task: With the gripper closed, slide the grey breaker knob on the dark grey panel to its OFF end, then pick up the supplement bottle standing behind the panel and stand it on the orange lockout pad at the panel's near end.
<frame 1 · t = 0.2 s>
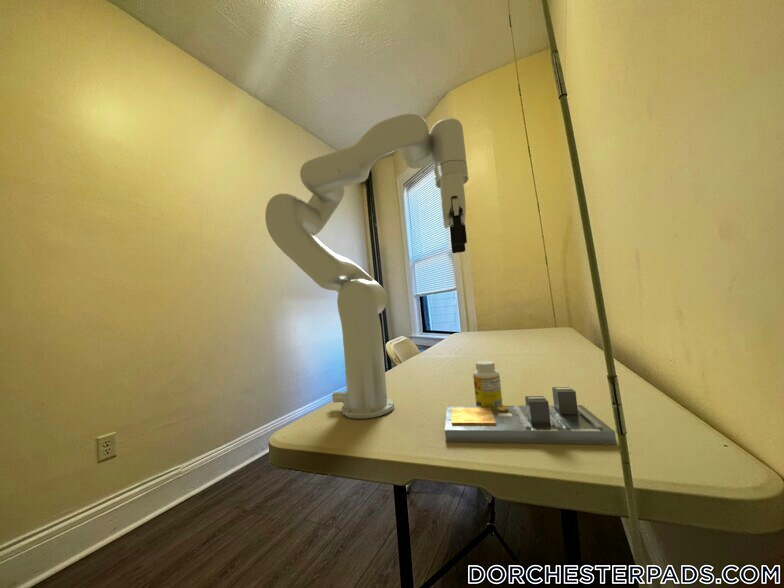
hand: (459, 248, 66), 36 cm above the table, tool pointing down, fingers open, 9 cm apart
panel: (518, 427, 53), on the table
breaker: (564, 399, 54), point 4 cm above the table, slide at 0.0 cm
supplement bottle: (489, 409, 64), on the table
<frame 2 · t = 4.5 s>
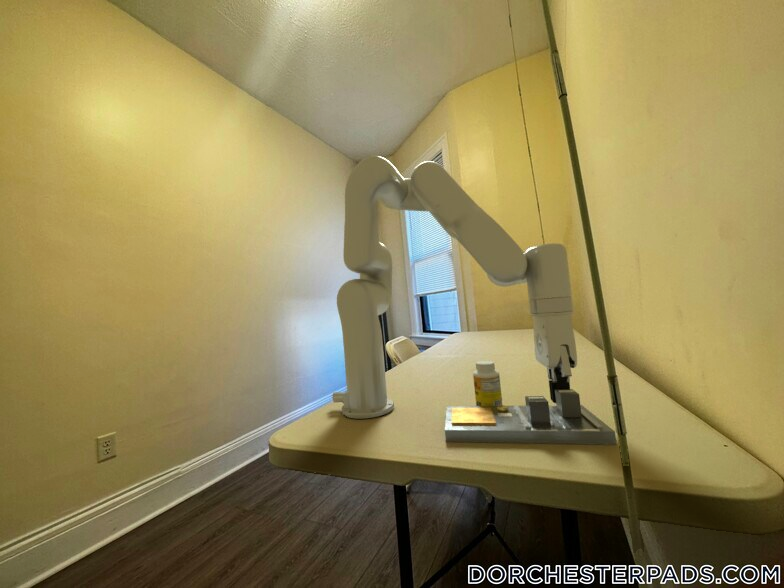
hand: (561, 401, 56), 3 cm above the table, tool pointing down, fingers closed
breaker: (567, 402, 52), point 4 cm above the table, slide at 1.5 cm, touching gripper
everything else where it was.
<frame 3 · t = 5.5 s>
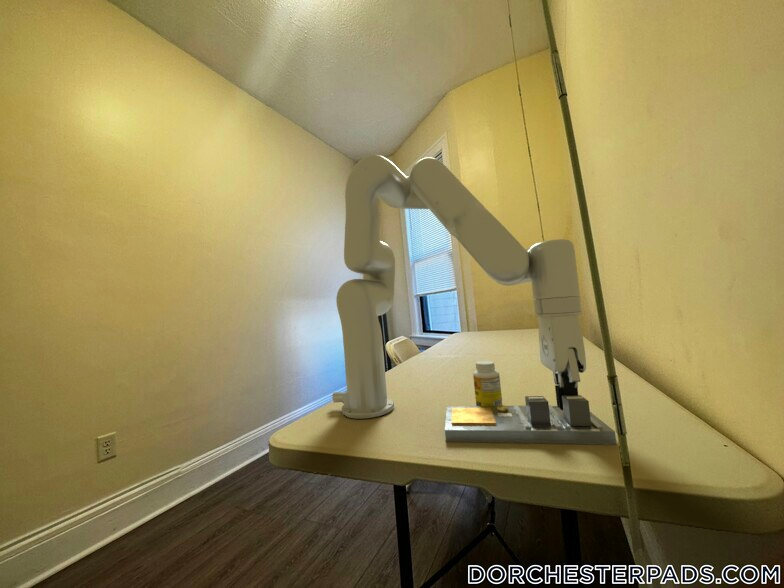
hand: (568, 408, 52), 3 cm above the table, tool pointing down, fingers closed
breaker: (575, 409, 49), point 4 cm above the table, slide at 5.2 cm, touching gripper
everything else where it was.
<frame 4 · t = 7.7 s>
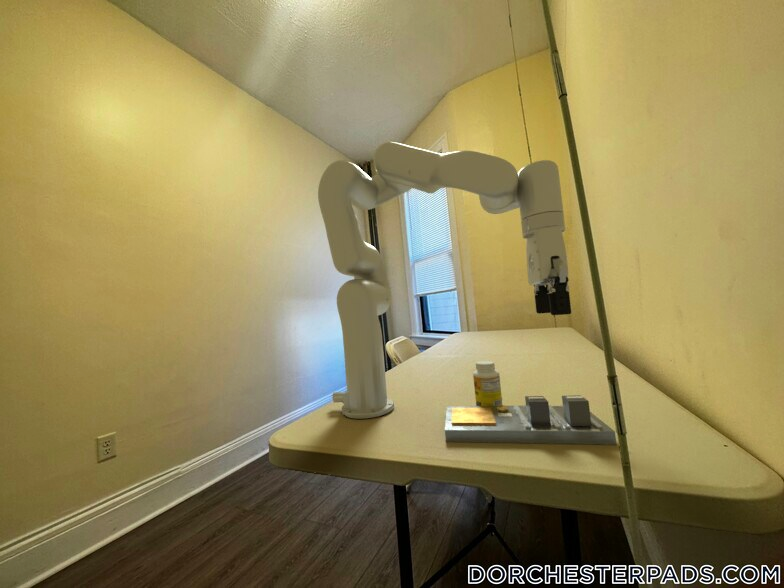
hand: (552, 313, 56), 20 cm above the table, tool pointing down, fingers open, 9 cm apart
breaker: (576, 409, 49), point 4 cm above the table, slide at 5.2 cm
everything else where it was.
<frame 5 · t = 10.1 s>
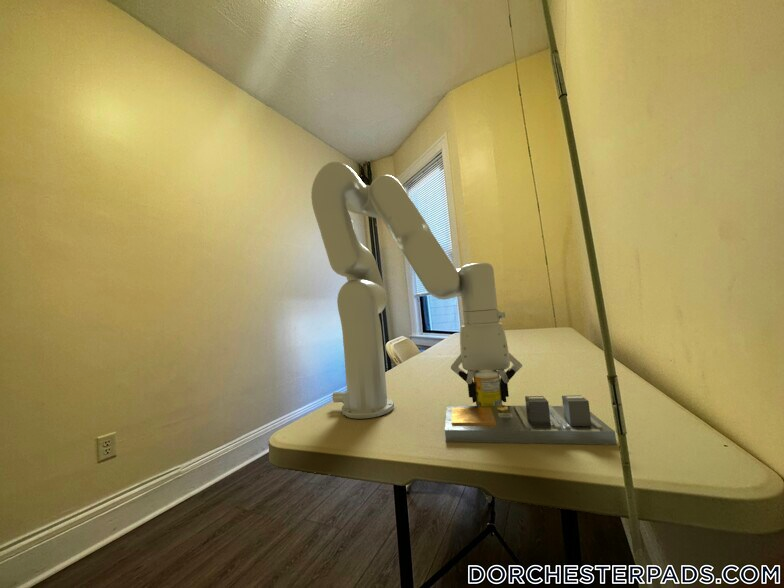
hand: (488, 399, 64), 2 cm above the table, tool pointing down, fingers closed on supplement bottle, 5 cm apart
supplement bottle: (489, 409, 64), on the table, touching gripper
everything else where it was.
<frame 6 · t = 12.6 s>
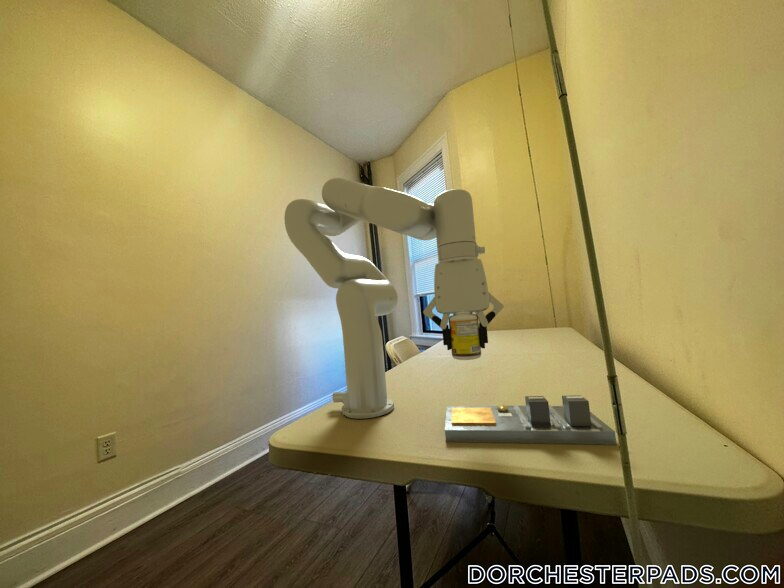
hand: (465, 347, 56), 15 cm above the table, tool pointing down, fingers closed on supplement bottle, 5 cm apart
supplement bottle: (466, 359, 56), point 13 cm above the table, touching gripper
everything else where it was.
when the fingers open (6 cm above the table, at t = 14.7 s): supplement bottle drops 1 cm, resting on panel.
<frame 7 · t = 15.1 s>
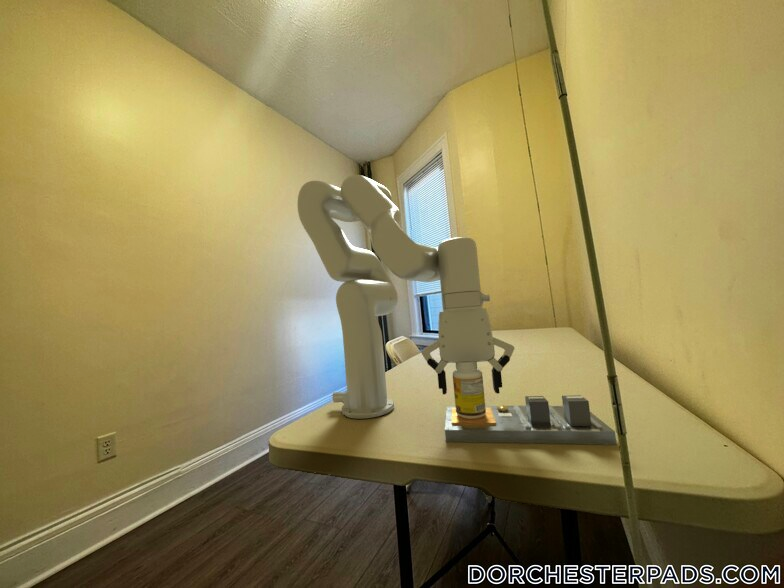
hand: (470, 391, 55), 7 cm above the table, tool pointing down, fingers open, 9 cm apart
supplement bottle: (471, 415, 55), point 2 cm above the table, touching panel
everything else where it was.
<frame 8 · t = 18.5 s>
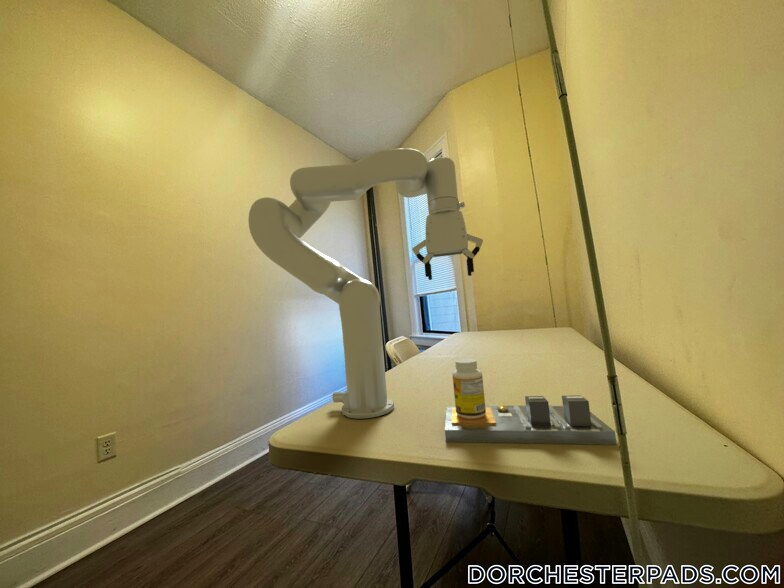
hand: (449, 277, 71), 30 cm above the table, tool pointing down, fingers open, 9 cm apart
nothing on the table moved.
at the end: breaker slide at 5.2 cm; supplement bottle inside the target area on the panel (0.2 cm from its centre), point 2.2 cm above the panel's base; supplement bottle tilted 0° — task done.
